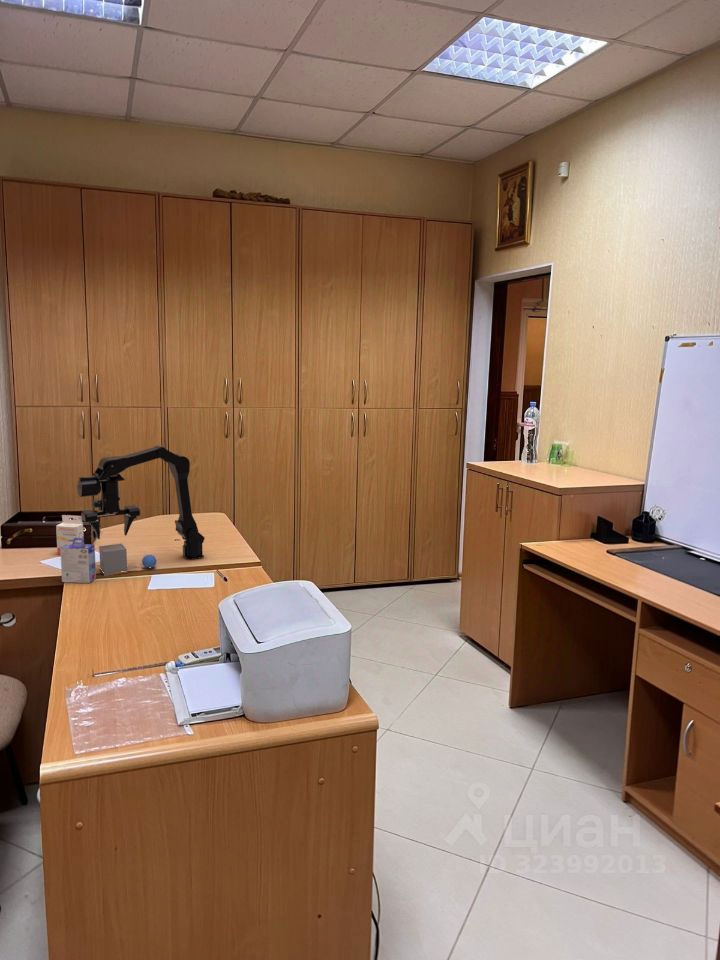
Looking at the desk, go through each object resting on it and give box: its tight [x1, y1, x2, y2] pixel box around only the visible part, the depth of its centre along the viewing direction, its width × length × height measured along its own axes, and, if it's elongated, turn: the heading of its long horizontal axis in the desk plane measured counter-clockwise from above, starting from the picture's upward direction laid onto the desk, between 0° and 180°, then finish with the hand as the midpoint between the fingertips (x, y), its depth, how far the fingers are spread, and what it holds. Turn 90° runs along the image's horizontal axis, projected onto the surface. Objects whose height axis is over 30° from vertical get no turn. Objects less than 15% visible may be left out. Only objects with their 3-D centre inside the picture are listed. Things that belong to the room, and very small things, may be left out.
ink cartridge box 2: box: [60, 537, 97, 584], centre depth 230 cm, size 10×6×14 cm, turn 89°
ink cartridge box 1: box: [55, 514, 85, 556], centre depth 258 cm, size 9×5×15 cm, turn 84°
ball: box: [141, 554, 158, 568], centre depth 245 cm, size 5×5×5 cm
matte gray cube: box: [98, 542, 128, 577], centre depth 240 cm, size 8×8×9 cm
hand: (112, 537), depth 239 cm, fingers open, 9 cm apart
